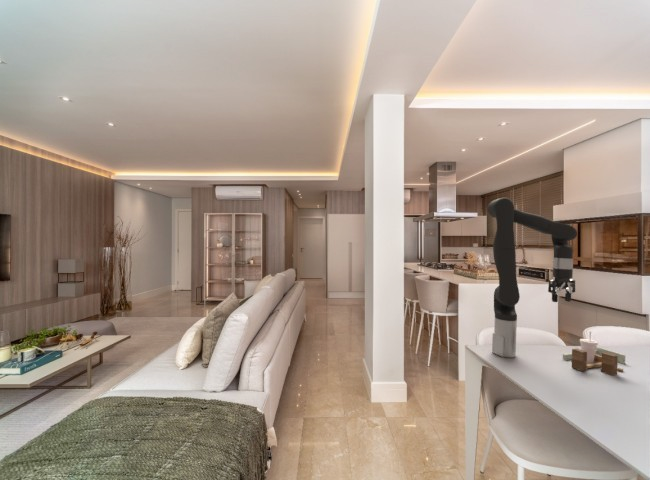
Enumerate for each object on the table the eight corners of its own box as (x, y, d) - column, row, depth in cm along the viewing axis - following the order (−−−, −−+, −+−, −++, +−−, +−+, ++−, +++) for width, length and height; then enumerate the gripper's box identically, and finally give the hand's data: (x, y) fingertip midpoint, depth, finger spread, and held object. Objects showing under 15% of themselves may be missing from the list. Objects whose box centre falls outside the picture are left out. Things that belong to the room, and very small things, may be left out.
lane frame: (590, 369, 133) (590, 360, 133) (562, 359, 143) (563, 350, 143) (625, 363, 140) (625, 355, 140) (596, 354, 151) (596, 346, 151)
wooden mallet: (581, 371, 130) (582, 352, 130) (556, 361, 140) (556, 343, 140) (612, 366, 136) (612, 348, 136) (585, 357, 146) (586, 340, 146)
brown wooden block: (612, 375, 127) (613, 356, 127) (601, 371, 131) (601, 352, 131) (627, 372, 130) (628, 354, 130) (616, 369, 134) (616, 350, 134)
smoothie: (600, 365, 138) (601, 334, 137) (584, 363, 139) (585, 333, 139) (591, 359, 144) (592, 330, 144) (575, 358, 145) (576, 328, 145)
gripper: (565, 266, 151) (564, 299, 152) (543, 266, 147) (542, 300, 147) (582, 268, 144) (580, 302, 144) (559, 268, 140) (558, 303, 140)
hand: (561, 301), depth 146 cm, fingers open, 8 cm apart
